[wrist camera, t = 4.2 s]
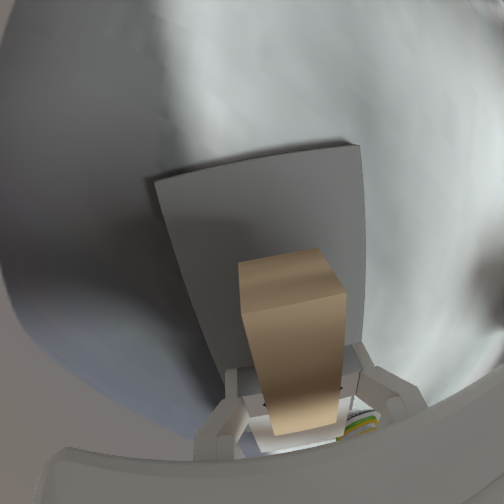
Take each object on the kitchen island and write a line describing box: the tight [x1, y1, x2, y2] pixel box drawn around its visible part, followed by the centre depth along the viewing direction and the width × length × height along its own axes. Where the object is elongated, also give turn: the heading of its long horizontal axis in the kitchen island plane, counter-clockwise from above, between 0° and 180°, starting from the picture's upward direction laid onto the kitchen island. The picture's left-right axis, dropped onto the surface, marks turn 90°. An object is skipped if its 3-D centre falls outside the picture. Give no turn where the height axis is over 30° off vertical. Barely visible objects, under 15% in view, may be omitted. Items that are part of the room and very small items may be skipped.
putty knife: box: [238, 247, 351, 453], centre depth 12 cm, size 15×6×3 cm, turn 10°
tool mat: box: [154, 144, 366, 432], centre depth 15 cm, size 20×9×1 cm, turn 10°
